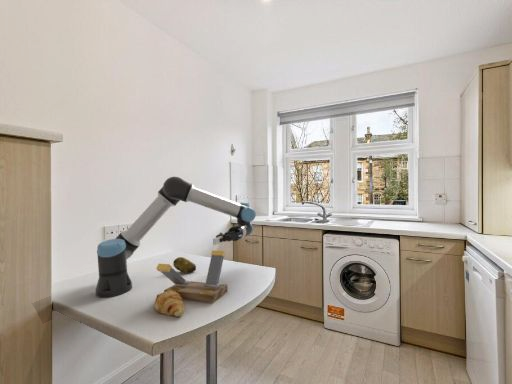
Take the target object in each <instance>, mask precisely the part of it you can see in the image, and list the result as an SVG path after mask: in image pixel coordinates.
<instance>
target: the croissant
mask: <svg viewBox="0 0 512 384" xmlns="http://www.w3.org/2000/svg"><path fill="white" fill-rule="evenodd" d="M154 309H155V310H156V311H157V312H158V313H160V314H163V315H168V316H174V317H181V316H182V315H183V313H184V310H185V303H184V301H183V299H182V298H181V296H180V295H179V293H177V292H175V291H171V290H168V291H165V292H164V291H163V292H162V293H161V292H160V293H158V294H157V295H156V298H155V300H154Z"/></svg>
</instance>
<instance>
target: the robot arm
mask: <svg viewBox="0 0 512 384" xmlns="http://www.w3.org/2000/svg"><path fill="white" fill-rule="evenodd" d="M180 201H182V202H184V203H188V202H191V203H193V204H197V205H199V206H202V207H204V208H208V209H210V210H213V211H216V212H219V213H222V214H224V215H227V216H231V217H233V218H235V219H236V225H234V226H231V227H229V229H228V230H227V231H226V232H224V233H223V232H219V233H218V234H217V235H215V238H212V244H213V245H214V246H216V245H219V244H222V243H223V242H224V243H225V242H231V241H234V242H236V241H239V240H241V239H242V238H245V237H247V236H250V235H251V234H252V233H253V231H254V226H253V224H252V223H251V222H253V220H254V219H255V218H256V216H257V215H256V211H255V209H254V208H253V207H251V206H250V204H249V202H247V201H244V202H236V201H234V200H230V199H228V198H226V197H223V196H220V195H217V194H215V193H211V192H209V191H207V190H203V189H201V188H198V187H195V185H194V184H193V183H190V182H188V181H186V180H185V179H184V178H182V177H179V176H171V177H168V178H167V179H165V181H164V183H163V184H162V187H161V188H160V189H159V190H158V192H157V197H156V198H155V199H154V200H153V201H152V202H151V203H150V204H149V205H148V207H147V208H146V209H145V210H144V211H143V212H142V213H141V214H140V215H139V216H138V218H137V219H136V220H135V221H134V222H133V223H132V224H131V225H130V226H129V227H128V228H127V229H126V230H125V231H123V230H122V231H121V232H120V233H119V234H118V235H117V236H116V237H115V238H113V239H107V240H104V241H101V242H100V243H98V244H97V250H96V254H97V266H98V280H97V283H96V286H95V296H96V297H97V296H99V297H98V298H110V297H111V298H112V297H115V296H119V295H123V294H125V293H127V292H129V291H131V290H132V289H133V282H132V280H131V277H130V276H129V273H128V265H127V260H128V259H129V258H131V257H132V255H134V253H135V252H136V251H137V249H138V248H139V247H140V246H141V240H143V239H144V237H145V236H146V235H147V234H148V233H149V231H150V230H151V229H152V228H153V227H154V226H155V225H156V224H157V223H158V221H159V220H160V219H161V218H162V217H163V216H164V215H165V214H166V212H168V210H169V209H170V208H171V207H176V206H177V204H179V202H180Z"/></svg>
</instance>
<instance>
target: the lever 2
mask: <svg viewBox="0 0 512 384" xmlns="http://www.w3.org/2000/svg"><path fill="white" fill-rule="evenodd" d="M210 255H211V256H210V262H209V265H208V266H209V267H208V272H207V275H206V280H205V282H204V283H205V284H204V287H211V288H219V284H220V277H221V274H222V273H221V272H222V268H223V267H222V266H223V262H224V257H225V255H226V252H225V251H224V250H211V253H210Z"/></svg>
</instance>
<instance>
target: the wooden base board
mask: <svg viewBox="0 0 512 384" xmlns="http://www.w3.org/2000/svg"><path fill="white" fill-rule="evenodd" d="M187 281H188V284H187V285H181V284H173V285H171V286H169V287H167V288H165V289H164V291H163V293H164V292H165V291H168V290H171V291H175V292H177V293H179V295H180V296H181V298H182V301H183V300H184V301H191V302H192V301H193V302H201V303H206V304H207V303H209V304H214V303H215V302H217V301H218V300H219V299H220V298H222V297H223V296H224V295H225V294H227V293H228V284H223V283H219V288H211V287H204V284H205V283H206V282H202V281H192V280H187Z"/></svg>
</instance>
